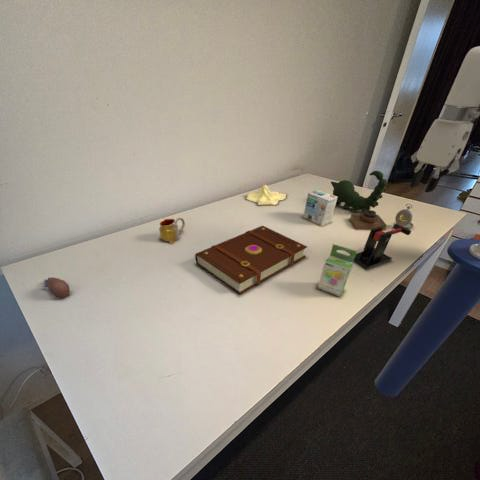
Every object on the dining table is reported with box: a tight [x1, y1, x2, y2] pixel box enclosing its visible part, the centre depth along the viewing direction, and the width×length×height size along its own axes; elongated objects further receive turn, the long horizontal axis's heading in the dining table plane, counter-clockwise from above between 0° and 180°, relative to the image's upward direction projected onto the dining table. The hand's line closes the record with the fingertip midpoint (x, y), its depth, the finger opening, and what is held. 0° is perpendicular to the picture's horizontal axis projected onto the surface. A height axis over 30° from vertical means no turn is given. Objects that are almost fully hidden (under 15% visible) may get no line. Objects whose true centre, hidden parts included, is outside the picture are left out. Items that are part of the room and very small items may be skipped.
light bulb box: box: [303, 189, 338, 227], centre depth 112 cm, size 11×7×11 cm, turn 40°
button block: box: [349, 212, 387, 231], centre depth 112 cm, size 12×10×4 cm
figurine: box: [40, 276, 71, 299], centre depth 76 cm, size 6×5×12 cm
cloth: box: [245, 184, 287, 206], centre depth 131 cm, size 22×19×6 cm
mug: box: [158, 217, 186, 244], centre depth 100 cm, size 12×7×7 cm, turn 144°
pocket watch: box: [394, 203, 415, 230], centre depth 109 cm, size 8×8×10 cm
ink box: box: [317, 244, 358, 297], centre depth 75 cm, size 7×4×13 cm, turn 56°
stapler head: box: [373, 223, 412, 242], centre depth 88 cm, size 13×6×2 cm, turn 118°
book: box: [194, 225, 308, 295], centre depth 89 cm, size 23×32×5 cm
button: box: [365, 209, 377, 218], centre depth 110 cm, size 4×4×2 cm
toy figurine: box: [330, 170, 389, 214], centre depth 119 cm, size 9×19×25 cm
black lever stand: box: [353, 227, 394, 271], centre depth 89 cm, size 12×8×11 cm, turn 118°
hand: (421, 188), depth 81 cm, fingers open, 4 cm apart
